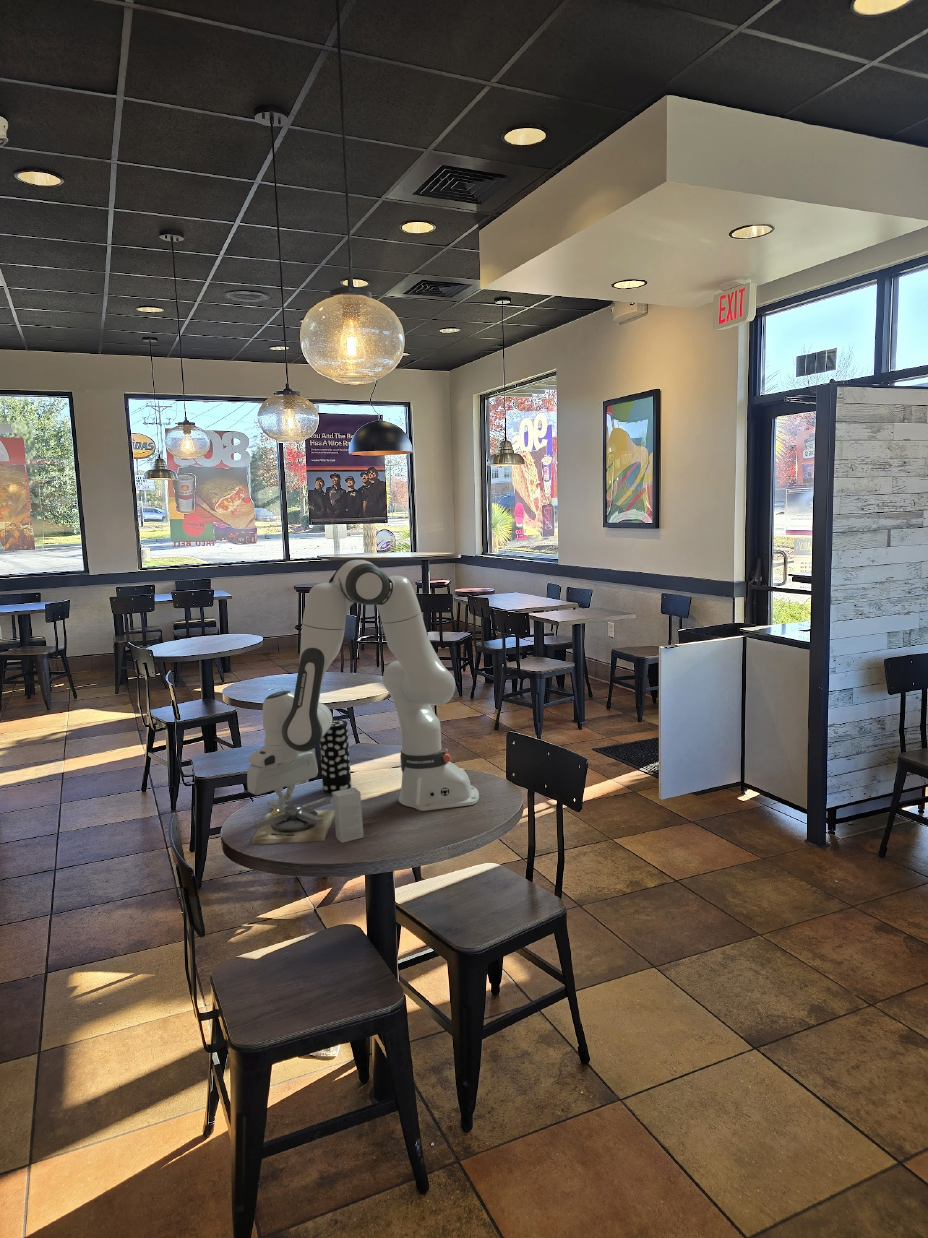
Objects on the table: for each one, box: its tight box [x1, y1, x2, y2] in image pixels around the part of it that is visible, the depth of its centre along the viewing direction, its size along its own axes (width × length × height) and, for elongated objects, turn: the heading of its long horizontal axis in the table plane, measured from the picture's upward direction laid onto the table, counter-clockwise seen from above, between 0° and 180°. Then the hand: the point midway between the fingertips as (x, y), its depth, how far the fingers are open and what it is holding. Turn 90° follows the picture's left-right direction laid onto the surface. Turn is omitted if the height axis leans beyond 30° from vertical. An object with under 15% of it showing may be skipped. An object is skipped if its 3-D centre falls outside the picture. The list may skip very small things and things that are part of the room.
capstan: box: [254, 796, 331, 832], centre depth 206 cm, size 17×17×4 cm
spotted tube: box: [319, 719, 352, 795], centre depth 234 cm, size 8×8×20 cm
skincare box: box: [332, 786, 365, 843], centre depth 198 cm, size 6×4×12 cm
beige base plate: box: [251, 809, 335, 845], centre depth 206 cm, size 18×18×1 cm
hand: (285, 801), depth 215 cm, fingers closed
